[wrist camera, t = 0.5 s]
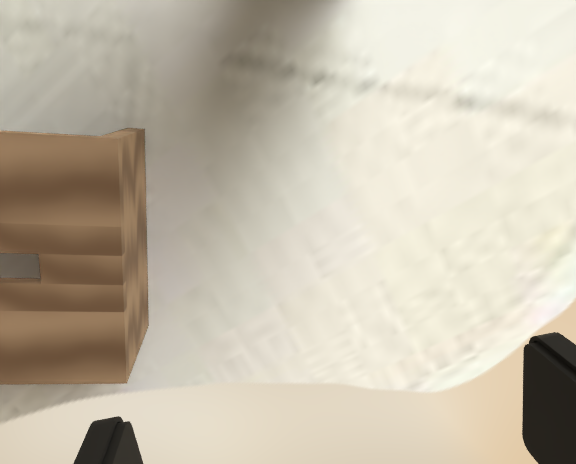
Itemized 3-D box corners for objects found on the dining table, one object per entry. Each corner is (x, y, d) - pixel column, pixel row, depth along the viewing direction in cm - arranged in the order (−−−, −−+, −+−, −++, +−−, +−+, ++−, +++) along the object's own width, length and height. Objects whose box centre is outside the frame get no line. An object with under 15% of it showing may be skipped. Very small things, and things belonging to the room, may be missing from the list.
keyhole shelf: (-121, 113, 39) (-236, 118, 29) (144, 128, 42) (117, 138, 32) (-83, 323, 44) (-170, 385, 35) (148, 325, 47) (126, 383, 38)
